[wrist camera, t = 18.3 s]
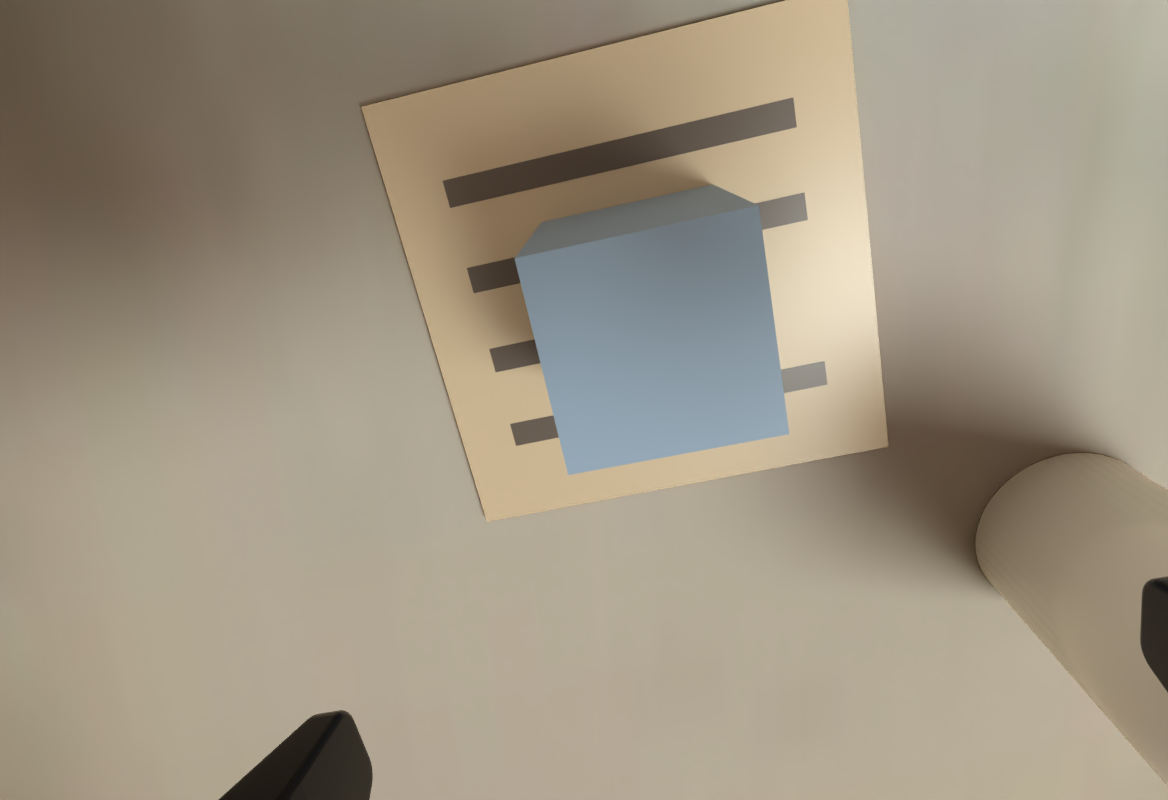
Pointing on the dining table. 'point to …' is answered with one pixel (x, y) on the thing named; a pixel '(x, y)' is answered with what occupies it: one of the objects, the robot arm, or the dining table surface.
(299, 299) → the dining table surface
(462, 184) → the letter card
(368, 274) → the dining table surface
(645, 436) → the blue block
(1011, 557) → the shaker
